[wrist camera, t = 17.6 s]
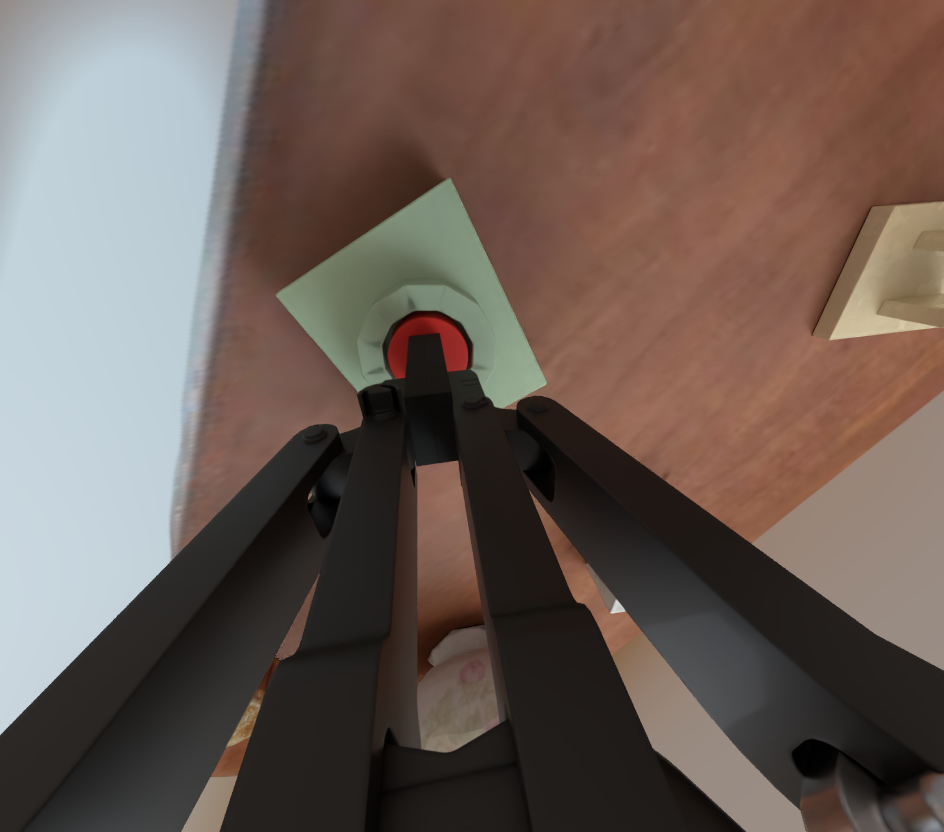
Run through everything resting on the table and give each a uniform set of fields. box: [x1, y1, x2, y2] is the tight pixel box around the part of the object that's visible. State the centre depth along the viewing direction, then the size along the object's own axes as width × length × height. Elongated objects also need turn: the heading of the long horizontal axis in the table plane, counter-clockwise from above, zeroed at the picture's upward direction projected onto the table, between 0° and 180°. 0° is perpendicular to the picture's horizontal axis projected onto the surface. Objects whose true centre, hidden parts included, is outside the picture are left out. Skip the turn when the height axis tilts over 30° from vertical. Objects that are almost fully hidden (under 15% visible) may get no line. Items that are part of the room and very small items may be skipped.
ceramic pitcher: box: [417, 625, 500, 752], centre depth 30 cm, size 22×20×25 cm
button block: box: [275, 178, 547, 409], centre depth 19 cm, size 12×10×4 cm
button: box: [388, 311, 468, 379], centre depth 17 cm, size 4×4×2 cm
